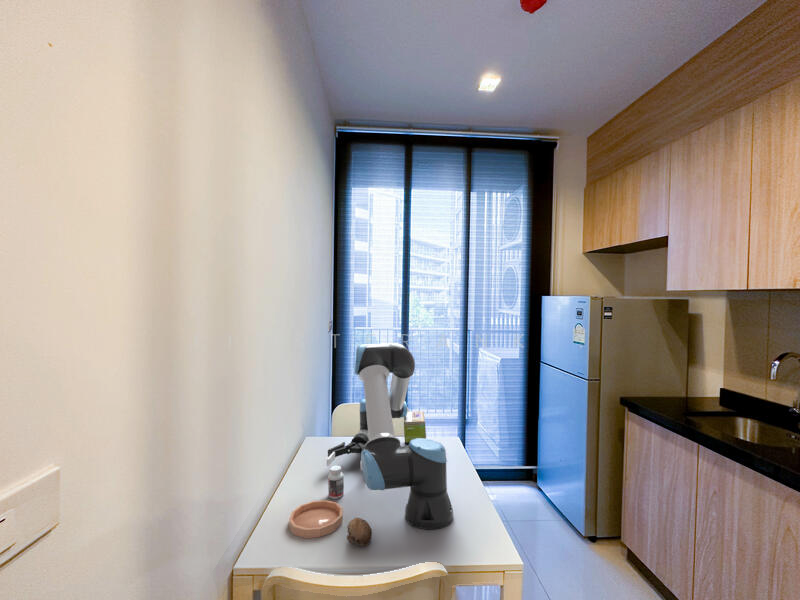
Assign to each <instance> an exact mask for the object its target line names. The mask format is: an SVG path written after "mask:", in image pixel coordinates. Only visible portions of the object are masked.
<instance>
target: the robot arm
mask: <svg viewBox="0 0 800 600" xmlns="http://www.w3.org/2000/svg"><path fill="white" fill-rule="evenodd" d="M355 350H356V351H355V352H356V353H355V365H354V374H355V375H357V376H358V378H359V379H360V381H361V382H362V383H363V389H364V398H362V399H361V400H360V402H359V431H358V432H357V433H356V434H355V435H354V436H353V438H352V439H351V441H350V443H348V444H347V443H346V442H345V441H343V442H342V443H340V444H337V445H336V446H334V447H331V448H329V449H328V450H327V458H326V466H327V467H330V466H331V464H332V463H333V462H334V461H335V459H336V458H337V457H339V456H340V457H341V456H343V455H345V454H346V455H349V454H358V455H360V463H359V464H360V465H359V466H360V467H359V468H360V470H362V473H363V478H364V482H365V485H366V487H367V489H369V491H385V490H390V489H391V490H392V489H398V488H400V489H401V488H407V487H410V491H409V496H408V499H407V503H406V505H405V509H404V510H405V512H404V513H405V518H406V520H407V522H408V523H409V524H410V525H411V526H414V527H415V528H418V529H422V530H438V529H441V528H445V527H447V526H448V525H449V524H450V523H452V521H453V520H454V511H453V510H454V509H453V505H452V502H451V499H450V497H449V494H448V484H447V483H448V482H447V462H448V459H447V452H446V448H445V446H444V445H443V443H441V442H439V441H437V440H434V439H430V438H426V439H425V438H416V439H414V440H411V441H410V443H409V446H406V447H405V446H401V445H402V444H401V441H400V439H399V438H398V437H396V436H395V431H394V430H395V429H394V422H393V419H401V418H404V417H406V416H407V412H408V404H407V402H406V397H407V393H408V389H409V385H410V380H411V377H412V376H413V375H414V373H415V367H416V362H415V358H414V356H413V354H412V352H411V351H410V350H409V349H408V348H407V347H406V346H404V345H403V344H400V343H397V342H391V343H366V344H365V343H364V344H359V345H358V346H357V347H356V349H355ZM390 374H392V375H391V379H390V387H389V388H388V380H387V379H388V378H389V377H390Z"/></svg>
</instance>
